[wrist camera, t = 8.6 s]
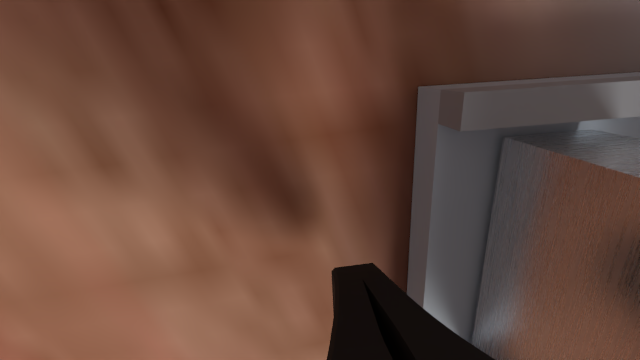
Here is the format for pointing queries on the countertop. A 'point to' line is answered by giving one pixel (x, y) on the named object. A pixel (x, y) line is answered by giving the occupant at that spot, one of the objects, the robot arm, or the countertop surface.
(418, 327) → the robot arm
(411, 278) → the base
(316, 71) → the countertop surface
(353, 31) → the countertop surface
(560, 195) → the sliding jaw
